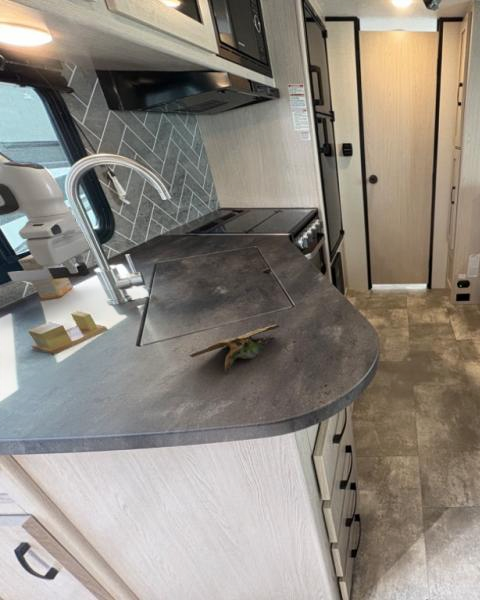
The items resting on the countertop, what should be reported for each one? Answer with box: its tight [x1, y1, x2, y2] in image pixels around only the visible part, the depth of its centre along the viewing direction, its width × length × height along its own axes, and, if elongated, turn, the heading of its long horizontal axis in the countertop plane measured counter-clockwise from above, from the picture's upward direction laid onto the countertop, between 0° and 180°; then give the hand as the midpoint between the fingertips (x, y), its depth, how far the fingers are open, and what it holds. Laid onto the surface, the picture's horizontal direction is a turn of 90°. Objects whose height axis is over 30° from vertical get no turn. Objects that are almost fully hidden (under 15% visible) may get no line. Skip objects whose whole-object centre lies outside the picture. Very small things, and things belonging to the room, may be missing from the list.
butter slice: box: [70, 310, 97, 331], centre depth 78 cm, size 5×2×4 cm, turn 70°
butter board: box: [27, 321, 108, 356], centre depth 75 cm, size 8×11×5 cm
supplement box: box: [17, 253, 73, 300], centre depth 97 cm, size 8×5×13 cm, turn 22°
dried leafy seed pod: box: [188, 324, 280, 375], centre depth 67 cm, size 18×14×8 cm
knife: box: [7, 262, 91, 283], centre depth 92 cm, size 18×2×3 cm, turn 106°
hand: (79, 270), depth 94 cm, fingers closed on knife, 2 cm apart
